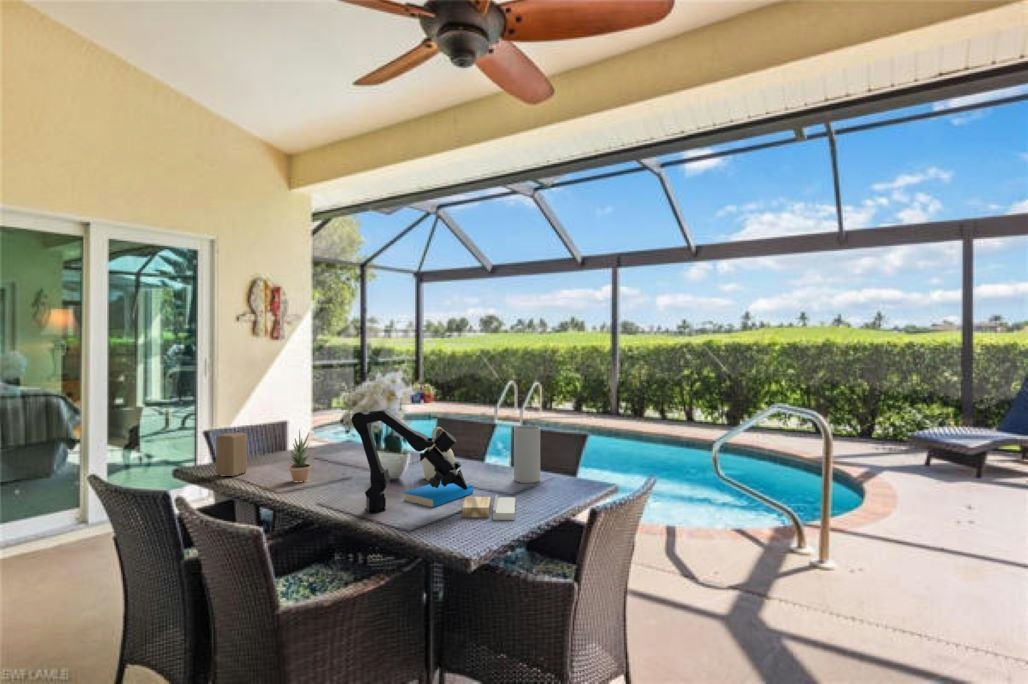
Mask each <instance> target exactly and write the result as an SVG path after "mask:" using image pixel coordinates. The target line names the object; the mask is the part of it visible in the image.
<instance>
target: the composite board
mask: <svg viewBox="0 0 1028 684" xmlns="http://www.w3.org/2000/svg"><path fill="white" fill-rule="evenodd" d="M493 501H494V502H493V508H492V520H497V521H500V520H502V521H505V520H506V521H511V520H512V521H515V517H516V515H515V514H516V513H515V512H516V497H508V496H507V497H499V495H498V494H496V495H495V497H494V500H493Z"/></svg>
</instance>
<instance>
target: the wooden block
mask: <svg viewBox="0 0 1028 684" xmlns="http://www.w3.org/2000/svg"><path fill="white" fill-rule="evenodd" d="M247 436H248V435H247V433H245V432H231V431H230V432H228V433H227V432H225V433H222V434H218V435H216V438H215V439H216V440H215V448H216V449H215V451H216V452H215V465H216V466H215V474H217V475H225V476H234V475H237V474H240V473H243V472H246V473H247V466H248V465H247V464H248V463H247V462H248V461H247V457H248V456H247V455H248V453H247V447H248V446H247V444H248V443H247V442H248V441H247V439H248V438H247ZM217 475H216V476H217ZM234 477H235V476H234Z"/></svg>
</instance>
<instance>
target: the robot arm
mask: <svg viewBox="0 0 1028 684" xmlns="http://www.w3.org/2000/svg"><path fill="white" fill-rule="evenodd" d="M376 422H382V423H383V424H384V425H386V426H388V427H389V428H390V429H391V430H393V431H394V432H396V433H397V434H398V435H399V436H401V437H402V438H404V440H406V442H407V443H408V445H409V446H410V447H411V448H412V449H413V450H414V451H415V452H420V453H419V460H420V462H422V460H423V459H424V458H426V459H427V460H428V461H429V462H430V463H431V464H432V465H433V466H434V467H435V468H434V470H435V471H436V474H435V476H434V477H431V478H430V480H429V481H428V483H429V484H430V485H431V486H432V487H435V488H438V487H439V485H440V482H441V484H442V485H443V486H444V487H445V486H446V485H447V484H456V485H457V486H459V487H461V488H463V489H464V490H466V489H467V485H466V484H467V483H466V481H465V477H464V475H463V472H462V469H460V468H461V466H462V464H461V462H459V461H454V463H453V464H452V463H451V462H450V461H449V460H448V457H447V456H446V457H445V456H444V455H443V454H442V453H441V452H447V451H448V450H449V449H452V448H453V447H454V446H455V445H456V444H457V439H456V438H455V437H454V435H453V434H451V433H449V432H448V431H447V430H444V429H443V430H444V431H443V432H442V433H441V435H440V434H439V436H438V437H436V439H435V438H432V437H428V435H426V434H425V433H422V432H420V431H418V430H414V429H412V428H411V427H409V426H408V425H407V424H405V423H404V422H403V421H401V420H400V419H398V418H397V417H396V416H394V415H392V413H390V412H389V411H388V410H387V409H380V410H373V411H367V410H364V409H363V410H360V411H358V412H356V413H353V415H352V417H351V423H352V426H353V428H354V430H355V431H356V432H357V434H358V435H359V437H360V439H361V443H362V446H363V451H364V452H365V457H366V460H367V463H368V467H369V470H370V475H369V476H370V478H369V479H370V487H369V488H368V489H367V490H365V491H364V493H365V497H366V498H365V500H366V501H365V502H366V507H365V508H364V511H366V512H368V513H369V514H374V513H375V514H376V513H379V512H386V511H387V508H386V507H387V506H386V504H387V503H386V502H387V501H386V499H387V498H386V496H385V495H386V494H385V493H384V491H385V490H386V489H387V488H388V486H389V485H390V483H391V481H390V480H391V476H390V473H389V469H388V468H386V469H384V467H383V466H382V463H381V459H380V457H379V453H378V450H377V447H376V442H375V439H374V436H373V433H372V427H373V425H372V423H376ZM434 444H435V446H434V447H433V448H432V449H430V448H429V447H432V446H433V445H434ZM436 447H437V448H438V449H439V450H440V451H441V452H440V451H439V450H438V449H437V448H436ZM427 448H428V449H427ZM426 449H427V450H426ZM425 450H426V451H425ZM424 451H425V452H424ZM458 469H459V470H458ZM441 479H442V480H441ZM385 510H386V511H385Z"/></svg>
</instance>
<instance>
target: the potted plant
mask: <svg viewBox="0 0 1028 684" xmlns="http://www.w3.org/2000/svg"><path fill="white" fill-rule="evenodd" d="M309 435H310V432H308V434H307V435H306V438H305V439H304V441H303V437H301V429H299V431H298V441H297V439H296V438H294V443H293V448H294V452H295V453H294V452H293V451H292V450H289V451H290V457H291V458H290V460H291V461H292V462H293V463H292V462H291V465H289V471H290V474H291V478H292V481H298V482H299V481H305V480H308V477H309V474H310V470H311V469H312V464H310V463H306V461H307V459H308V458H309V457H310V456H311V454H308V455H306V454H307V449H308V447H309V443H307V442H308V439H309ZM306 443H307V444H306ZM305 455H306V456H305Z"/></svg>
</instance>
